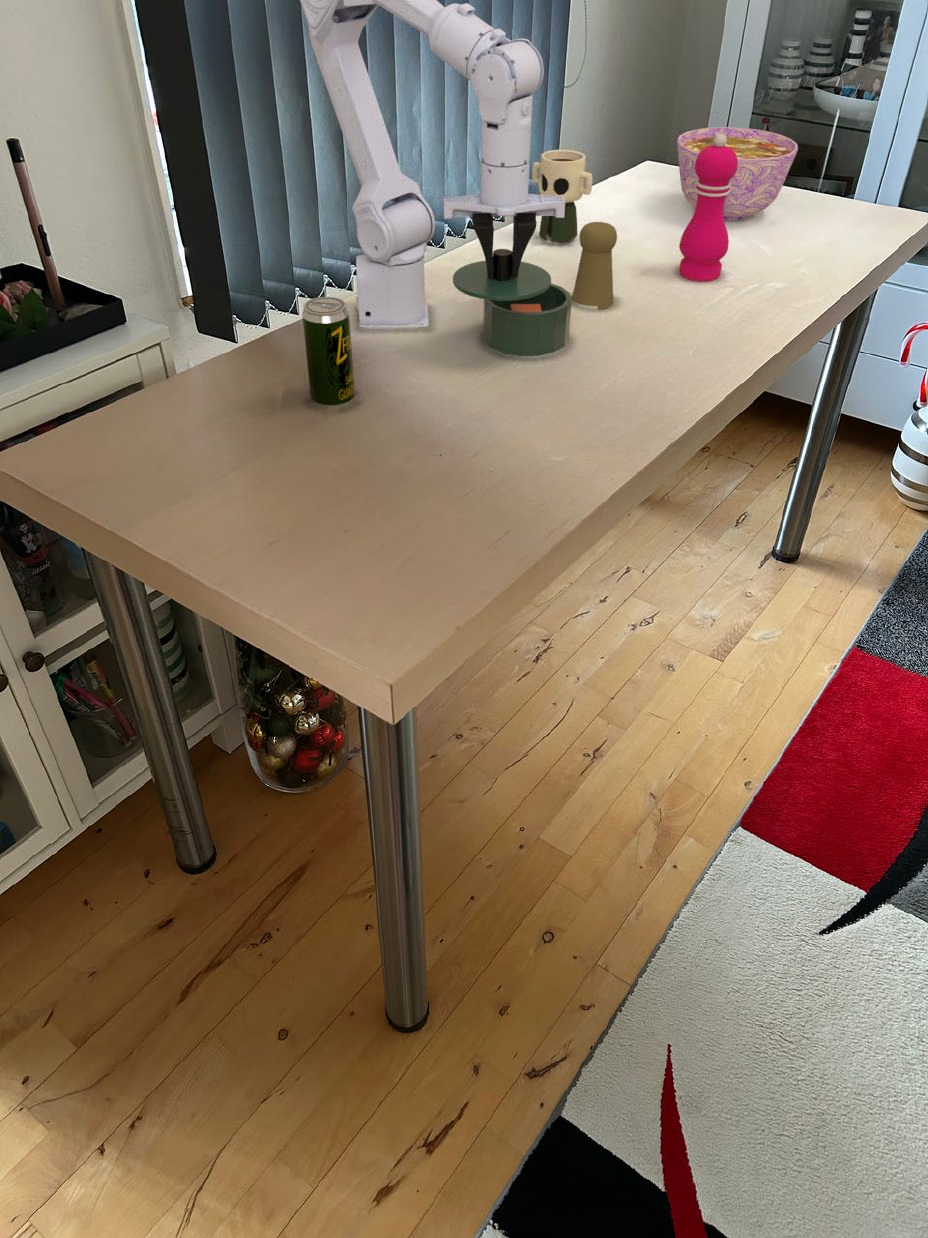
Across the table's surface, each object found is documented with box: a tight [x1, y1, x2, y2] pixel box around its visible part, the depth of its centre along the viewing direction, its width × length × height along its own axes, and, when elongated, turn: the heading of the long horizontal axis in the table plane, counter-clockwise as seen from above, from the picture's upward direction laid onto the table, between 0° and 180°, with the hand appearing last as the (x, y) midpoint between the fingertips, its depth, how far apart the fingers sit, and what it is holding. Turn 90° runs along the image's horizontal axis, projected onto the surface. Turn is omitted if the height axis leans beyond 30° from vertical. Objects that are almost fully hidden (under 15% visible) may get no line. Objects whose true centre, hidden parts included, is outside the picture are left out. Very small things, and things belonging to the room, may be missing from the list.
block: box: [510, 304, 542, 312], centre depth 134 cm, size 4×4×4 cm
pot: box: [482, 282, 572, 357], centre depth 134 cm, size 11×11×6 cm
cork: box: [571, 221, 618, 311], centre depth 143 cm, size 6×6×11 cm
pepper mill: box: [678, 134, 738, 282], centre depth 148 cm, size 7×7×20 cm
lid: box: [452, 248, 552, 301], centre depth 126 cm, size 12×12×4 cm
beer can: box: [301, 296, 356, 408], centre depth 119 cm, size 5×5×12 cm
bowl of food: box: [676, 126, 799, 222], centre depth 173 cm, size 20×20×12 cm
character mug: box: [531, 149, 593, 243], centre depth 162 cm, size 11×7×13 cm, turn 55°
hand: (502, 274), depth 126 cm, fingers closed on lid, 2 cm apart
